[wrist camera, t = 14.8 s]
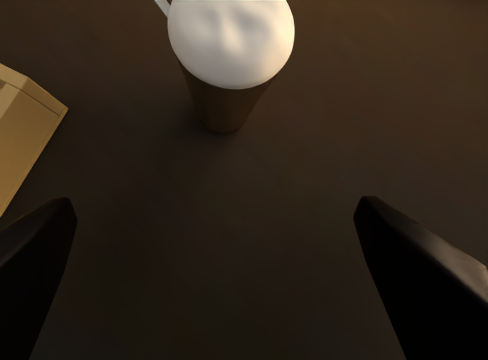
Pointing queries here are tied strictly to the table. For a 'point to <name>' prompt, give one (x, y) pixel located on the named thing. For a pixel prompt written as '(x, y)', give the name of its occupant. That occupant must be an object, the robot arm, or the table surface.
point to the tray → (23, 128)
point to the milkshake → (228, 53)
